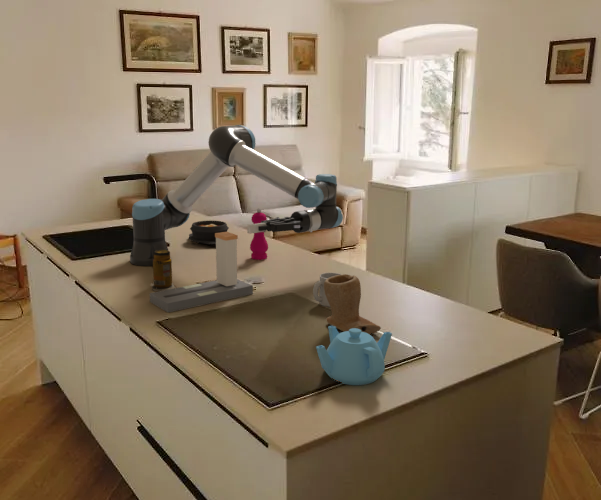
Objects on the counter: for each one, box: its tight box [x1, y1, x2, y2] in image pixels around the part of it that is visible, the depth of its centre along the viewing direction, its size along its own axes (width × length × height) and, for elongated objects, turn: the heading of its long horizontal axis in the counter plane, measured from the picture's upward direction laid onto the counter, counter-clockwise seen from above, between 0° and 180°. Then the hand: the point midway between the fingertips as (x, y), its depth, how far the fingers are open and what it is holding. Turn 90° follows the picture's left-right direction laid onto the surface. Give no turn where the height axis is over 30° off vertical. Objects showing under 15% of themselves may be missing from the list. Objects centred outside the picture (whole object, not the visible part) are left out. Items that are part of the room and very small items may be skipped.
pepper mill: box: [249, 208, 269, 261], centre depth 235 cm, size 7×7×20 cm
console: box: [149, 278, 254, 313], centre depth 187 cm, size 30×12×3 cm, turn 129°
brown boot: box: [324, 273, 382, 335], centre depth 161 cm, size 15×12×15 cm
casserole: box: [187, 220, 230, 246], centre depth 263 cm, size 25×19×8 cm
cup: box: [312, 272, 343, 308], centre depth 182 cm, size 7×10×9 cm
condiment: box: [150, 249, 176, 292], centre depth 197 cm, size 7×8×12 cm
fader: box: [215, 231, 239, 286], centre depth 190 cm, size 4×6×16 cm
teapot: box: [315, 325, 393, 386], centre depth 135 cm, size 15×15×11 cm
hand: (248, 229), depth 193 cm, fingers closed
